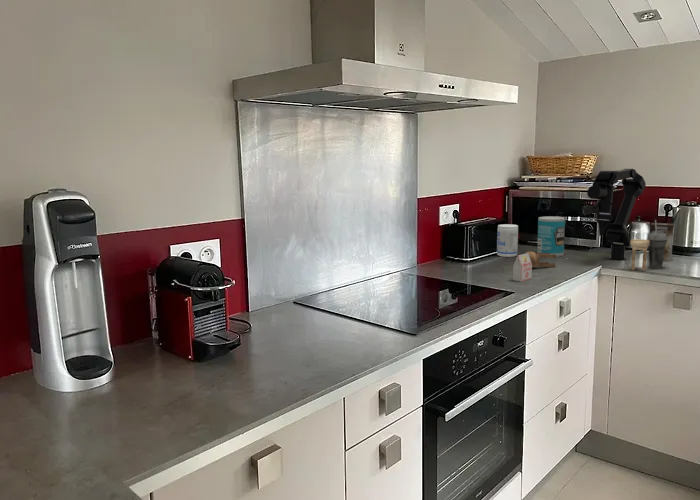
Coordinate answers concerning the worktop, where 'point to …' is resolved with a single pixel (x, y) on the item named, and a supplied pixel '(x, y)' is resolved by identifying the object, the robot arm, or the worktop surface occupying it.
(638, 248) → the light brown bar stool
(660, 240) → the beverage cup
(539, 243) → the food can
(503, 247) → the supplement tub
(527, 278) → the milk carton
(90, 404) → the worktop surface
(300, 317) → the worktop surface
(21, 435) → the worktop surface
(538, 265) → the wooden stool
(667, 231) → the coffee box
